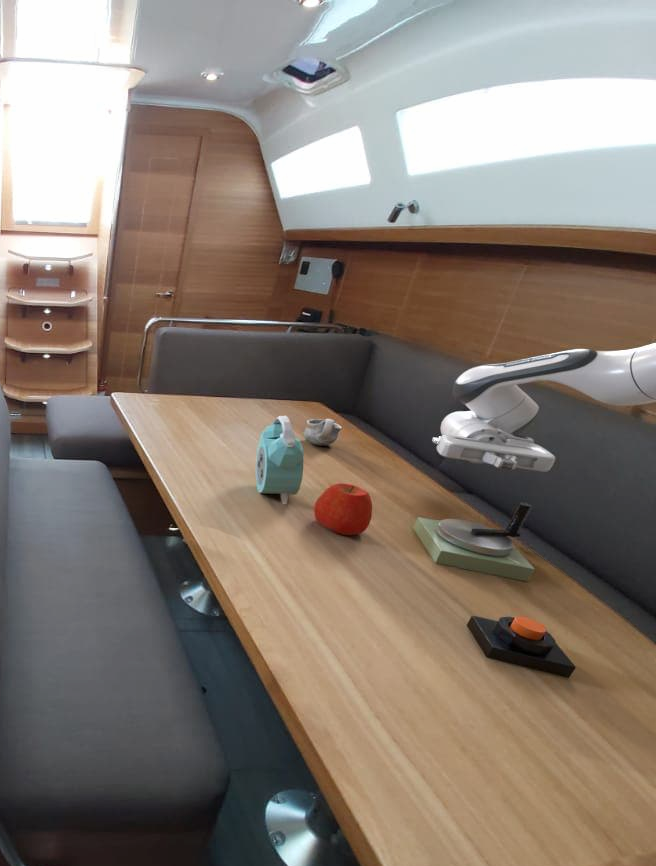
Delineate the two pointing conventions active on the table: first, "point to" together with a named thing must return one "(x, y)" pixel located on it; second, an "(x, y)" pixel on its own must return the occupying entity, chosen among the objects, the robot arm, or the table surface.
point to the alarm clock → (279, 460)
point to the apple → (344, 509)
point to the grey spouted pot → (321, 431)
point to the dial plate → (470, 554)
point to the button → (528, 628)
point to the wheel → (483, 533)
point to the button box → (519, 646)
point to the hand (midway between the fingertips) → (507, 465)
